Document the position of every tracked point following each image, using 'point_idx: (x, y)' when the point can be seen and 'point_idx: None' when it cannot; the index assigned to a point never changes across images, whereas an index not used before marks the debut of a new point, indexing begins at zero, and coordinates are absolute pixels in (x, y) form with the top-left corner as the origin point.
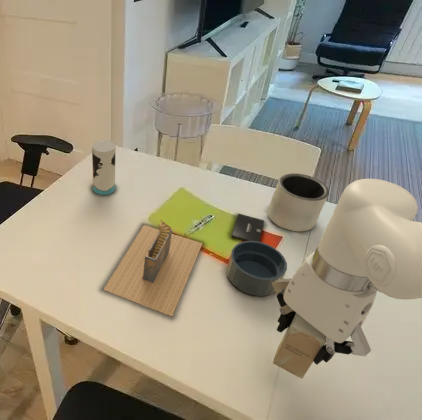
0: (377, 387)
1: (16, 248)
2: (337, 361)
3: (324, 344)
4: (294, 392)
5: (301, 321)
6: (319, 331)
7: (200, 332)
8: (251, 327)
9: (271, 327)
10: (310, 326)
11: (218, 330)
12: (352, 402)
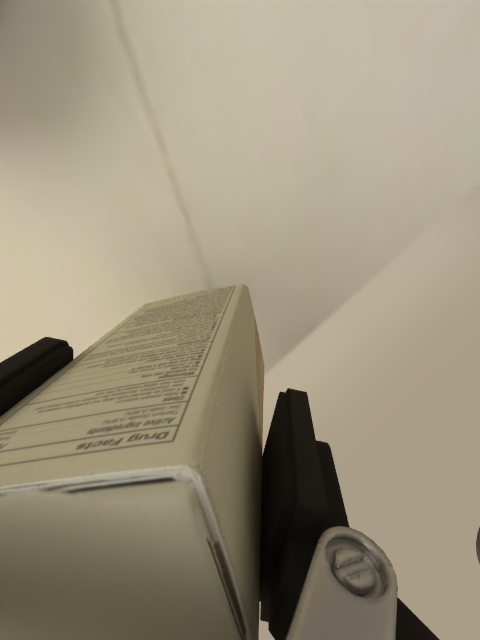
0: (469, 74)
1: None
2: (329, 82)
3: (258, 610)
4: (267, 299)
5: (5, 630)
6: (165, 637)
7: (3, 326)
8: (67, 195)
9: (105, 137)
10: (84, 633)
11: (22, 284)
12: (406, 204)
